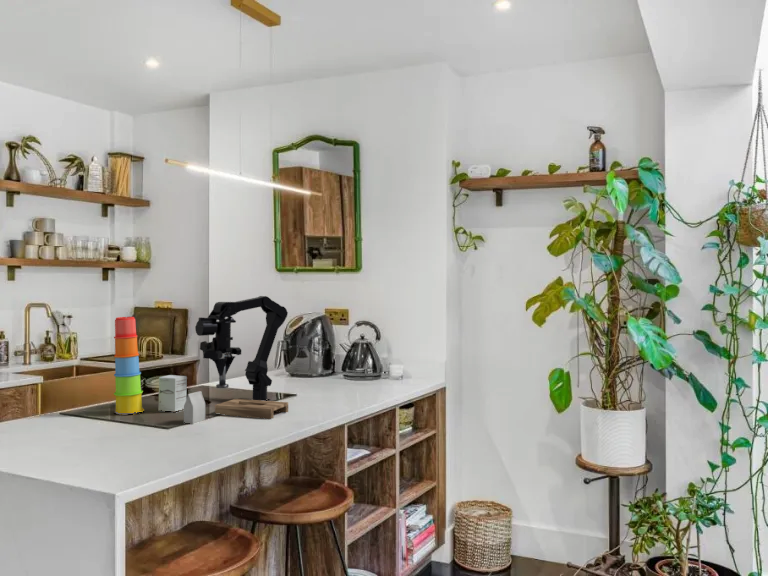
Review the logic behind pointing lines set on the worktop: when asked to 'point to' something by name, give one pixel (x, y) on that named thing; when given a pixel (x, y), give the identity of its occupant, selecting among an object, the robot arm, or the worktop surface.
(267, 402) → the keyhole board
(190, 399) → the grey gabled carton
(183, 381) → the supplement box
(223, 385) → the tee peg
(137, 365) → the stacking cups
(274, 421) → the worktop surface
